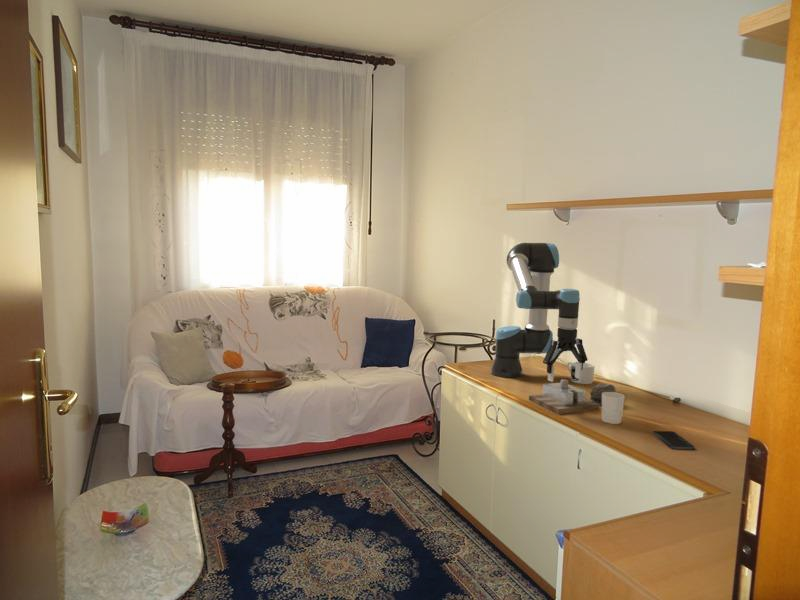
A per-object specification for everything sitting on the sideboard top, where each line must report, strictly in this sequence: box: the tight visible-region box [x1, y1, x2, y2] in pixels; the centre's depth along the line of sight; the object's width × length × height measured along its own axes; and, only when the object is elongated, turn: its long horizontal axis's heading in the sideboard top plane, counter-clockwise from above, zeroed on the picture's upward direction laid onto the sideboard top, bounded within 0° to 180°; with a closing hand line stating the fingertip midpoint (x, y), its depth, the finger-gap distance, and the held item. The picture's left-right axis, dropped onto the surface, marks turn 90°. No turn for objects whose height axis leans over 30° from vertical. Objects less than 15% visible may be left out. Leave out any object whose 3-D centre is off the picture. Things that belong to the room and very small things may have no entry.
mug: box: [566, 361, 595, 385], centre depth 262 cm, size 13×10×8 cm
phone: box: [652, 430, 695, 451], centre depth 186 cm, size 8×1×15 cm
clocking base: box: [528, 379, 601, 415], centre depth 224 cm, size 19×20×10 cm
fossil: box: [589, 382, 617, 407], centre depth 228 cm, size 11×9×10 cm
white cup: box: [601, 392, 626, 425], centre depth 205 cm, size 8×8×10 cm
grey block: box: [542, 382, 587, 406], centre depth 224 cm, size 14×10×5 cm
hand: (564, 379), depth 224 cm, fingers open, 13 cm apart
